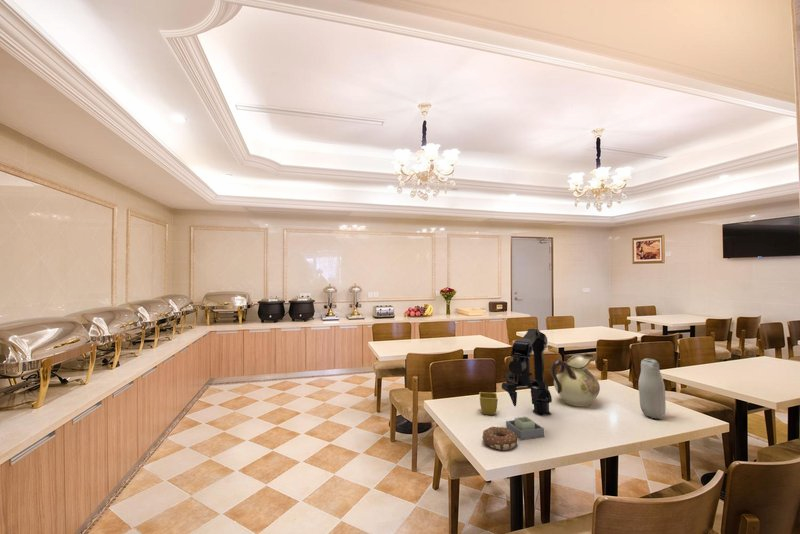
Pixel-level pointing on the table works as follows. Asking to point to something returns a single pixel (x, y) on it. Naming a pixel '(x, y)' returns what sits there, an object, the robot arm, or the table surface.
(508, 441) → the donut
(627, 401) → the table surface
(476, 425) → the table surface
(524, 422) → the small crate
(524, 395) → the table surface
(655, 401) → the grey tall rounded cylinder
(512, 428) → the big crate
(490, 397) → the flower pot
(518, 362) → the robot arm
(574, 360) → the pitcher
